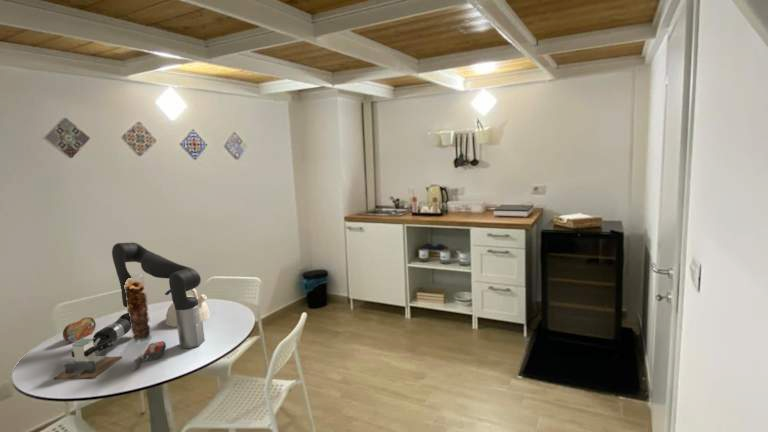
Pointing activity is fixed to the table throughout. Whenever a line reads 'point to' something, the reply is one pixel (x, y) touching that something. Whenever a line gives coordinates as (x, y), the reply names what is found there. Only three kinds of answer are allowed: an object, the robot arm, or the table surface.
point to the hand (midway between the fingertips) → (79, 354)
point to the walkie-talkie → (152, 352)
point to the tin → (79, 329)
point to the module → (81, 347)
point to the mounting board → (99, 369)
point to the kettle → (202, 305)
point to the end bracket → (80, 367)
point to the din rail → (79, 373)
